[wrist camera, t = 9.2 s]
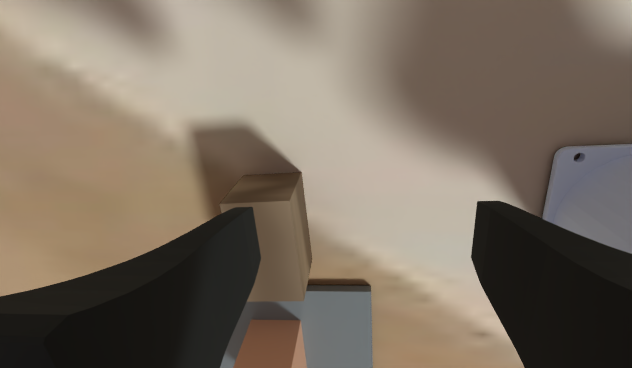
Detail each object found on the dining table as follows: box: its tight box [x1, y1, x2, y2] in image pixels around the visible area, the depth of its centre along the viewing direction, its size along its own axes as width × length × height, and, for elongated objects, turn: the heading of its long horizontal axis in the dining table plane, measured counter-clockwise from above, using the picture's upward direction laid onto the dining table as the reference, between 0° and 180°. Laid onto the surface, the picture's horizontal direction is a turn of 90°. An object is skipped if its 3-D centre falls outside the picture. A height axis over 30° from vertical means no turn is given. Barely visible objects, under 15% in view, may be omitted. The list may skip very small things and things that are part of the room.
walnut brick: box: [219, 172, 312, 302], centre depth 19 cm, size 4×6×4 cm, turn 6°
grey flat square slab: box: [220, 285, 373, 368], centre depth 25 cm, size 13×12×1 cm
